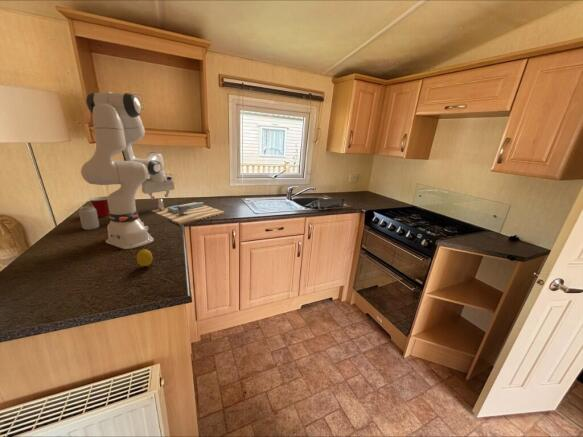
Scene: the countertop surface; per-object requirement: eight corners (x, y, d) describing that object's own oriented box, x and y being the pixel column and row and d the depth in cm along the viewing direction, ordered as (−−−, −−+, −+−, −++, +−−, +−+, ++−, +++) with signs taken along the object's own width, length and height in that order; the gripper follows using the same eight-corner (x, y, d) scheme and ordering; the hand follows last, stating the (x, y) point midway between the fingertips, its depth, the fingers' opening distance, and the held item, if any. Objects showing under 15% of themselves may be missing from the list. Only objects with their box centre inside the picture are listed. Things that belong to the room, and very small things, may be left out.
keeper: (190, 213, 163) (190, 206, 162) (181, 215, 158) (181, 208, 157) (187, 212, 166) (186, 205, 164) (178, 214, 160) (177, 207, 159)
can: (79, 228, 132) (74, 207, 128) (93, 224, 139) (89, 204, 135) (88, 231, 130) (83, 209, 126) (102, 227, 136) (98, 206, 133)
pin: (164, 210, 166) (163, 199, 164) (160, 211, 164) (159, 200, 161) (162, 209, 168) (161, 198, 165) (158, 210, 165) (156, 199, 163)
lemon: (137, 271, 97) (134, 253, 94) (139, 264, 102) (136, 247, 99) (152, 268, 99) (150, 251, 96) (154, 262, 104) (152, 245, 101)
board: (224, 213, 173) (224, 211, 173) (180, 225, 147) (179, 222, 146) (195, 204, 191) (195, 202, 191) (151, 212, 164) (151, 210, 164)
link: (175, 213, 161) (174, 209, 160) (167, 210, 166) (167, 207, 165) (206, 206, 180) (206, 203, 180) (199, 204, 185) (198, 201, 184)
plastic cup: (104, 212, 159) (101, 194, 155) (118, 214, 157) (115, 196, 153) (88, 217, 149) (84, 198, 145) (102, 219, 147) (99, 200, 143)
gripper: (143, 180, 149) (146, 201, 154) (174, 177, 165) (176, 196, 170) (138, 178, 152) (141, 199, 157) (169, 175, 168) (171, 194, 173)
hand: (159, 198), depth 163 cm, fingers open, 8 cm apart
